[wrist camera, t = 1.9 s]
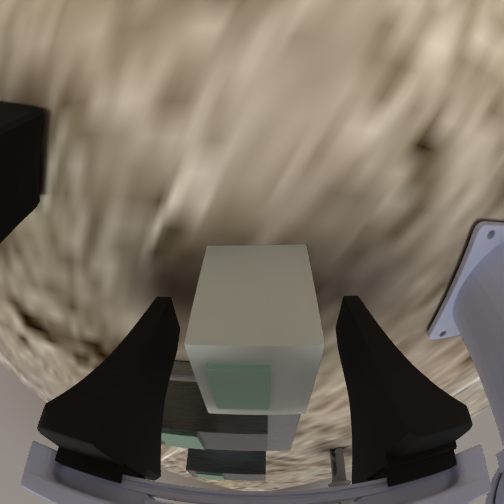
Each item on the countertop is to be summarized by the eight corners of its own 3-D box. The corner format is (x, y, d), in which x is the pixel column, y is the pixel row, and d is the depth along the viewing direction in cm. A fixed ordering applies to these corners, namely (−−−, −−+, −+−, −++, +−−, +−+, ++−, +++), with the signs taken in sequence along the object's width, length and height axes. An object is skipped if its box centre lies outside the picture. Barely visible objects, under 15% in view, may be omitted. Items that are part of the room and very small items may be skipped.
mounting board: (309, 362, 17) (316, 433, 13) (289, 441, 26) (290, 482, 23) (119, 355, 17) (99, 417, 14) (175, 437, 27) (169, 475, 23)
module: (305, 244, 12) (325, 350, 8) (297, 324, 15) (305, 417, 11) (207, 244, 12) (182, 350, 8) (219, 325, 15) (208, 417, 11)
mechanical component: (348, 455, 32) (354, 520, 24) (298, 447, 28) (301, 527, 20) (367, 449, 30) (375, 516, 22) (319, 440, 27) (325, 525, 19)
